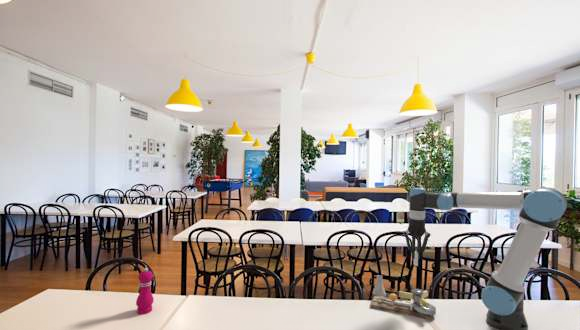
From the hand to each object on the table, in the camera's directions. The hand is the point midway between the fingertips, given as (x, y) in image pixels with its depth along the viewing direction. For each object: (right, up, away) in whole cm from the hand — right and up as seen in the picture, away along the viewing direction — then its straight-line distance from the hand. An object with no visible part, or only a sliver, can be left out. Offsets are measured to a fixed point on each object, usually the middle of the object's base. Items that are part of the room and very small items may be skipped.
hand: (415, 265), depth 150 cm
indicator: (-9, -18, -3) cm, 21 cm away
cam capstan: (0, -19, -6) cm, 19 cm away
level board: (-9, -20, -3) cm, 22 cm away
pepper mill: (-131, -17, -13) cm, 133 cm away
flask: (-15, -20, +12) cm, 28 cm away
